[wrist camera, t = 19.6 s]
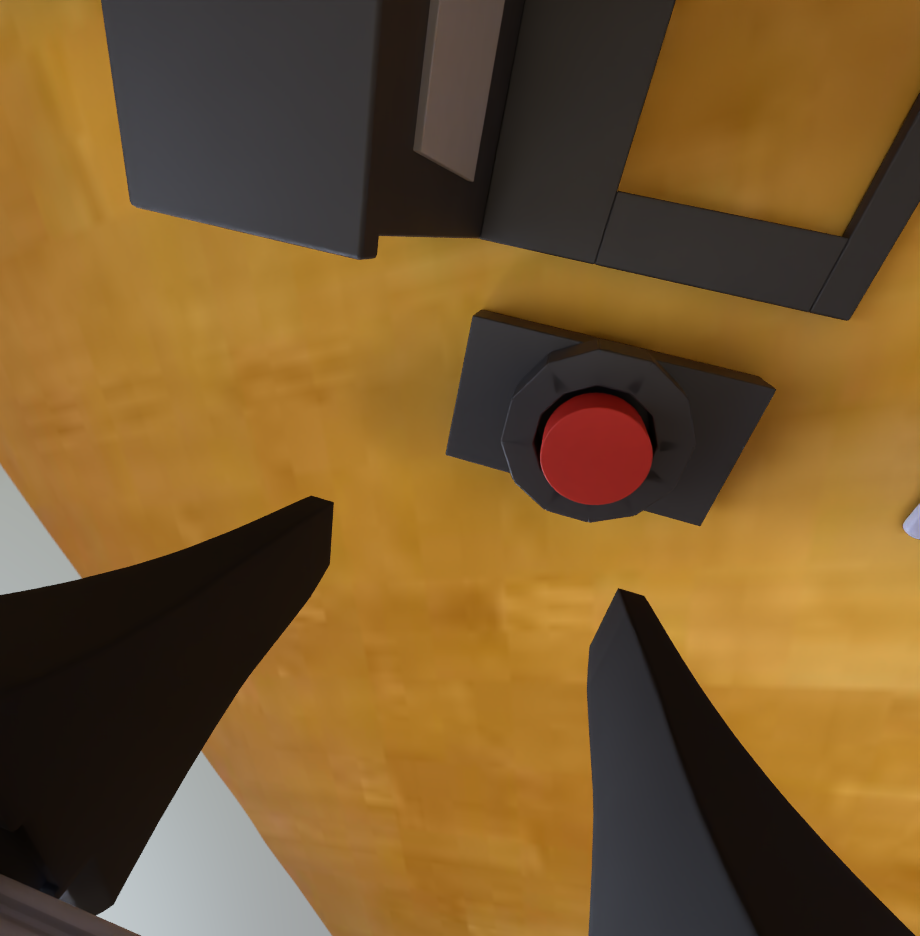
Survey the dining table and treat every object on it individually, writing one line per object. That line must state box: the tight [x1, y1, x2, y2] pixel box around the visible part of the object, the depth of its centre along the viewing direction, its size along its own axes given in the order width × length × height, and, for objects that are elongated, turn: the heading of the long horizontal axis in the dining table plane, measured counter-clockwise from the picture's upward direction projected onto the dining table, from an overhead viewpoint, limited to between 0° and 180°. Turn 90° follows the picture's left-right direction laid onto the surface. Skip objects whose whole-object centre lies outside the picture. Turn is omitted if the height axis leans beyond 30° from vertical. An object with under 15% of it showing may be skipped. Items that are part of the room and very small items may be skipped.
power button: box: [540, 393, 653, 505], centre depth 16 cm, size 4×4×2 cm
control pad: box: [446, 310, 776, 526], centre depth 18 cm, size 11×6×4 cm, turn 79°
